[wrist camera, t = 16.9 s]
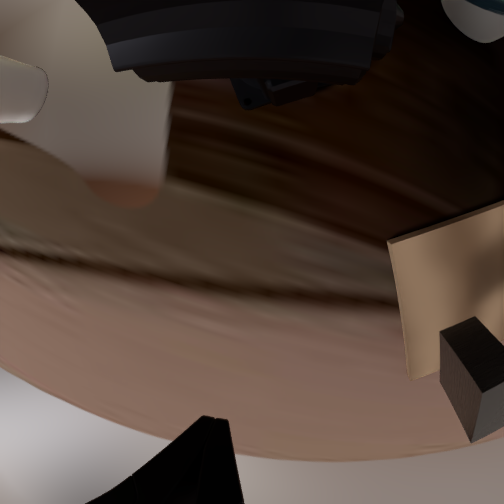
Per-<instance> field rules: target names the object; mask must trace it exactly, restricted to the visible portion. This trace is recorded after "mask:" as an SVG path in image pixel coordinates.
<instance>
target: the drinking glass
mask: <svg viewBox="0 0 504 504" xmlns="http://www.w3.org/2000/svg"><path fill="white" fill-rule="evenodd" d="M47 92H48V78H47V75H46V73H45V72H44V71H43V69H41V68H39V67H35V66H31V65H27V64H24V63H21V62H18V61H16V60H12V59H10V58H7V57H3V56H1V55H0V124H1V123H25V122H28V121H30V120H31V119H33V118H34V117H35V116H36V115H37V114H38V113H39V111H40V110H41V108H42V106H43V104H44V102H45V99H46V96H47Z"/></svg>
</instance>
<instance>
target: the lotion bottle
mask: <svg viewBox="0 0 504 504" xmlns="http://www.w3.org/2000/svg"><path fill="white" fill-rule="evenodd" d="M441 2H442V6H443V8H444V11H445V13H446V14H447V16H448V18H449V19H450V20H451V22H452V23H453V24H454V25H455V26H456V27H457V28H458V29H459V30H460V31H461V32H462V33H464V34H465V35H466V36H468V37H469V38H471V39H473V40H475V41H478V42H481V43H489V42H492V41H495V40H497V39H499V38H501V37H503V36H504V0H441Z"/></svg>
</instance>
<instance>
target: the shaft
mask: <svg viewBox="0 0 504 504" xmlns="http://www.w3.org/2000/svg"><path fill="white" fill-rule="evenodd" d="M439 338H440V383H441V385H442V387H443V388H444V390H445V392H446V394H447V396H448V398H449V400H450V402H451V404H452V406H453V408H454V410H455V412H456V414H457V416H458V418H459V420H460V422H461V424H462V426H463V428H464V430H465V432H466V434H467V436H468V438H469V441H470V443H473V442H475V441H477V440H479V439H481V438H483V437H485V436H487V435H489V434H491V433H492V432H494V431H496V430H498V429H500V428H501V427H503V426H504V346H503V345H502V344H501V343H500V341H499V340H498V339H497V338H496V337H495V336H494V335H493V334H492V333H491V332H490V331H489V330H488V329H487V328H486V327H485V326H484V325H483V324H482V323H481V322H480V321H479V319H478V318H477V317H476V316H474V317H471V318H469V319H467V320H465V321H462V322H460V323H458V324H455V325H453V326H451V327H448V328H446V329H443V330H441V331H439Z"/></svg>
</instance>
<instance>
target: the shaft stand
mask: <svg viewBox="0 0 504 504" xmlns="http://www.w3.org/2000/svg"><path fill="white" fill-rule="evenodd" d="M387 244H388V248H389V253H390V258H391V263H392V268H393V273H394V278H395V283H396V289H397V295H398V301H399V307H400V314H401V321H402V329H403V337H404V345H405V355H406V366H407V375H408V377H409V379H410V381H413V380H415V379H418V378H421V377H423V376H426V375H429V374H431V373H434V372H436V371H439V370H440V338H439V331H441V330H443V329H446V328H448V327H451V326H453V325H455V324H458V323H460V322H462V321H465V320H467V319H469V318H471V317H474V316H476V317H477V318H478V319H479V321H480V322H481V323H482V324H483V325H484V326H485V327H486V328H487V329H488V330H489V331H490V332H491V333H492V334H493V335H494V336H495V337H496V338H497V339H498V340H499V341H500V342H501V341H502V340H504V200H503V201H500V202H498V203H495V204H492V205H489V206H487V207H484V208H481V209H478V210H475V211H473V212H470V213H467V214H464V215H461V216H458V217H455V218H453V219H450V220H447V221H444V222H441V223H438V224H435V225H432V226H429V227H426V228H423V229H420V230H417V231H414V232H411V233H408V234H405V235H402V236H399V237H396V238H393V239H390V240H387Z"/></svg>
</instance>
